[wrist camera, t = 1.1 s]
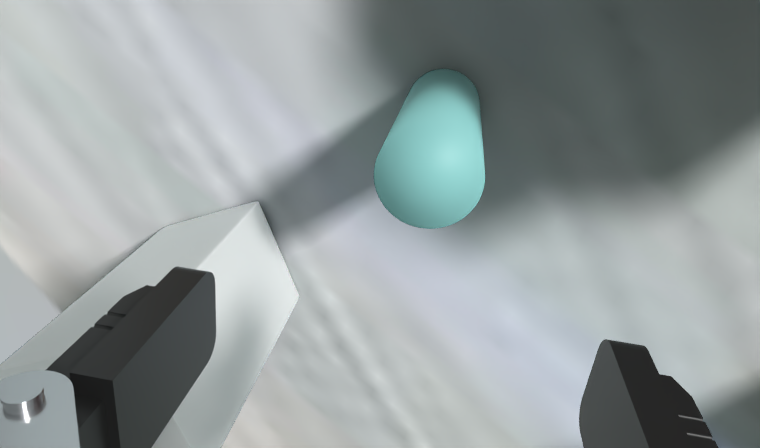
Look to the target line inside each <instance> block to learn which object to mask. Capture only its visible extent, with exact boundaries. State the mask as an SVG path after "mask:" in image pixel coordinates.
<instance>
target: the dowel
mask: <svg viewBox="0 0 760 448" xmlns="http://www.w3.org/2000/svg"><path fill="white" fill-rule="evenodd" d="M374 184H375V188H376V191H377V194H378V197H379V198H380V200H381V202H382V204H383V205H384V206H385V208H386V209H387V210H388V211H389V212H390V213H391V214H392V215H393V216H395V217H396V218H397V219H399V220H400V221H402V222H404V223H406V224H409V225H412V226H415V227H419V228H427V229H434V228H442V227H446V226H449V225H452V224H454V223H456V222H458V221H460V220H461V219H463V218H464V217H466V216H467V215H468V214H469V213H470V212H471V211H472V210H473V209H474V207H475V206H476V205H477V203H478V201H479V200H480V197H481V195H482V192H483V189H484V184H485V167H484V153H483V140H482V127H481V113H480V101H479V95H478V92H477V90H476V88H475V86H474V84H473V83H472V82H471V81H470V80H469V79H468V78H467V77H466V76H465V75H463V74H461V73H460V72H457V71H454V70H450V69H437V70H433V71H430V72H428V73H426V74H424V75H423V76H421V77H420V78H419V79H418V80H417V81H416V82H415V83H414V85H413V86H412V88H411V90H410V92H409V94H408V96H407V98H406V100H405V102H404V104H403V106H402V108H401V110H400V112H399V114H398V116H397V118H396V120H395V122H394V124H393V126H392V128H391V130H390V132H389V134H388V136H387V138H386V140H385V142H384V144H383V146H382V148H381V150H380V152H379V154H378V156H377V159H376V162H375V167H374Z"/></svg>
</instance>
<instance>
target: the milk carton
mask: <svg viewBox="0 0 760 448" xmlns="http://www.w3.org/2000/svg"><path fill="white" fill-rule="evenodd" d="M177 266H178V267H184V268H190V269H196V270H202V271H208V272H212V273H213V275H214V278H215V295H216V340H215V346H214V349H213V353H212V355H211V358H210V360H209V362H208V364H207V365H206V367H205V368H204V370H203V371H202V373H201V374H200V376H199V377H198V379H197V380H196V382H195V383H194V385H193V386H192V388H191V389H190V391H189V392H188V394H187V395H186V397H185V398H184V400H183V401H182V403H181V404H180V406H179V407H178V409H177V410H176V412H175V413H174V415H173V416H172V418H171V419H170V421H169V422H168V424H167V425H166V427H165V428H164V430H163V431H162V433H161V434H160V436H159V437H158V439H157V440H156V442H155V443H154V445H153V446H152V448H221V447H222V445H223V443H224V441H225V439H226V437H227V436H228V434H229V432H230V430H231V428H232V426H233V424H234V422H235V420H236V418H237V416H238V414H239V412H240V411H241V409H242V407H243V405H244V403H245V401H246V399H247V397H248V395H249V393H250V391H251V389H252V387H253V386H254V384H255V382H256V380H257V378H258V376H259V374H260V372H261V370H262V368H263V366H264V364H265V362H266V361H267V359H268V357H269V355H270V353H271V351H272V349H273V347H274V345H275V343H276V341H277V339H278V337H279V336H280V334H281V332H282V330H283V328H284V326H285V324H286V322H287V320H288V318H289V316H290V314H291V312H292V311H293V309H294V307H295V305H296V303H297V301H298V299H299V294H298V291H297V289H296V287H295V284H294V282H293V280H292V278H291V275H290V273H289V271H288V268H287V266H286V264H285V261H284V259H283V257H282V254H281V252H280V250H279V248H278V245H277V243H276V241H275V238H274V236H273V234H272V231H271V229H270V227H269V224H268V222H267V220H266V217H265V215H264V213H263V211H262V208H261V206H260V204H259V202H258V201H255V202H251V203H247V204H244V205H240V206H236V207H233V208H229V209H226V210H222V211H218V212H215V213H211V214H208V215H204V216H200V217H197V218H193V219H190V220H186V221H182V222H179V223H175V224H172V225H168V226H166V227H164V228H162V229H161V230H159V231H158V232H157V233H156V234H155V235H154V236H152V237H151V238H150V239H149V240H148V241H146V242H145V243H144V244H143V245H142V246H140V247H139V248H138V249H137V250H136V251H135V252H133V253H132V254H131V255H130V256H129V257H127V258H126V259H125V260H124V261H123V262H121V263H120V264H119V265H118V266H117V267H115V268H114V269H113V270H112V271H111V272H110V273H108V274H107V275H106V276H105V277H104V278H102V279H101V280H100V281H99V282H98V283H96V284H95V285H94V286H93V287H92V288H90V289H89V290H88V291H87V292H86V293H85V294H83V295H82V296H81V297H80V298H79V299H77V300H76V301H75V302H74V303H73V304H71V305H70V306H69V307H68V308H67V309H66V310H64V311H63V312H62V313H61V314H60V315H58V316H57V317H56V318H55V319H54V320H52V321H51V322H50V323H49V324H48V325H47V326H45V327H44V328H43V329H42V330H41V331H39V332H38V333H37V334H36V335H35V336H34V337H32V338H31V339H30V340H29V341H27V342H26V343H25V344H24V345H23V346H22V347H20V348H19V349H18V350H17V351H16V352H14V353H13V354H12V355H11V356H10V357H8V358H7V359H6V360H5V361H4V362H2V363H1V364H0V380H2V379H4V378H6V377H9V376H12V375H15V374H18V373H22V372H28V371H36V370H46V369H47V368H48V367H49V366H50V365H51V364H52V363H53V362H54V361H55V360H57V359H58V358H59V357H60V356H61V355H62V354H63V353H64V352H65V351H66V350H67V349H68V348H69V347H70V346H71V345H72V344H74V343H75V342H76V341H77V340H78V339H79V338H80V337H81V336H82V335H83V334H84V333H85V332H86V331H87V330H88V329H89V328H90V327H94V325H95V323H96V322H97V321H98V320H99V319H100V318H101V317H102V316H103V315H104V314H106V315H107V313H108V311H109V310H110V309H111V308H112V307H113V306H114V305H115V304H116V303H117V302H118V301H119V300H120V299H121V298H122V297H123V296H125V295H127V294H129V293H131V292H134V291H136V290H138V289H140V288H142V287H144V286H146V285H149V286H156V285H157V284H158V283H159V282H160V281H161V280H162V279H163V278H164V277H165V276H166V275H167V274H168V273H169V272H170V271H171V270H172V269H173V268H174V267H177Z"/></svg>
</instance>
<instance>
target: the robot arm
mask: <svg viewBox="0 0 760 448" xmlns="http://www.w3.org/2000/svg"><path fill="white" fill-rule="evenodd" d="M215 340H216V295H215V278H214V275H213V273H212V272H208V271H202V270H196V269H190V268H184V267H178V266H177V267H174V268H173V269H172V270H171V271H170V272H169V273H168V274H167V275H166V276H165V277H164V278H163V279H162V280H161V281H160V282H159V283H158V284H157V285H156V286H149V285H146V286H144V287H142V288H140V289H138V290H136V291H134V292H131V293H129V294H127V295H125V296H123V297H122V298H121V299H120V300H119V301H118V302H117V303H116V304H115V305H114V306H113V307H112V308H111V309H110V310H109V311H108V313H107V315H106V314H104V315H103V316H102V317H101V318H100V319H99V320H98V321H97V322H96V323H95V325H94V327H90V328H89V329H88V330H87V331H86V332H85V333H84V334H83V335H82V336H81V337H80V338H79V339H78V340H77V341H76V342H75V343H74V344H72V345H71V346H70V347H69V348H68V349H67V350H66V351H65V352H64V353H63V354H62V355H61V356H60V357H59V358H58V359H57V360H55V361H54V362H53V363H52V364H51V365H50V366H49V367H48V368H47V369H46V370H36V371H28V372H22V373H18V374H15V375H12V376H9V377H6V378H4V379H2V380H0V448H152V446H153V445H154V443H155V442H156V440H157V439H158V437H159V436H160V434H161V433H162V431H163V430H164V428H165V427H166V425H167V424H168V422H169V421H170V419H171V418H172V416H173V415H174V413H175V412H176V410H177V409H178V407H179V406H180V404H181V403H182V401H183V400H184V398H185V397H186V395H187V394H188V392H189V391H190V389H191V388H192V386H193V385H194V383H195V382H196V380H197V379H198V377H199V376H200V374H201V373H202V371H203V370H204V368H205V367H206V365H207V364H208V362H209V360H210V358H211V355H212V353H213V349H214V346H215ZM579 426H580V433H581V437H582V442H583V446H584V448H718V446H717V444H716V442H715V441H713V440H712V435H711V433H710V431H709V429H708V427H707V425H706V423H705V422H703V417H702V415H701V414H700V412H699V410H698V408H697V406H696V404H695V402H694V400H693V398H692V396H691V395H690V394H688V393H687V392H686V391H685V390H684V389H683V388H682V387H681V386H680V385H679V384H678V383H677V382H676V381H675V380H674V379H673V378H672V377H671V376H666V375H660V374H659V373H658V371H657V369H656V366H655V364H654V362H653V360H652V358H651V356H650V354H649V351H648V350H647V348H646V347H645V346H642V345H636V344H630V343H624V342H618V341H612V340H603V341H602V342H601V344H600V346H599V349H598V351H597V354H596V357H595V361H594V364H593V367H592V370H591V373H590V376H589V379H588V382H587V385H586V388H585V391H584V394H583V397H582V401H581V406H580V414H579Z"/></svg>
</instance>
